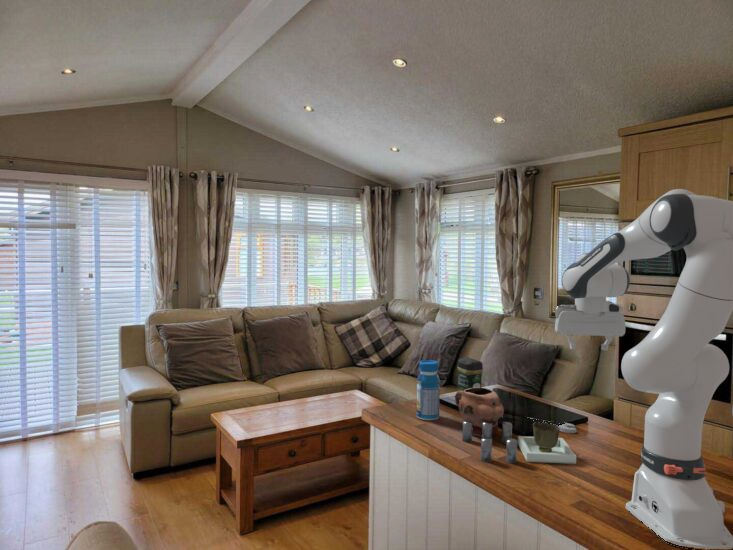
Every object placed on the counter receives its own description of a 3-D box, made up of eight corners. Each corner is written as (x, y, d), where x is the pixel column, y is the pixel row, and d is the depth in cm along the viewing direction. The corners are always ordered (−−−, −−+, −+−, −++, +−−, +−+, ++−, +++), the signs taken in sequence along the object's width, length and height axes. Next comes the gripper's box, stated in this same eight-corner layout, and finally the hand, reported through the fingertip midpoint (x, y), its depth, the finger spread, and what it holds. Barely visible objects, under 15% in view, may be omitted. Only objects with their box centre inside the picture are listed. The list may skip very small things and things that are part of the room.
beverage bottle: (429, 422, 173) (430, 365, 172) (411, 416, 179) (411, 361, 178) (444, 417, 179) (445, 362, 178) (426, 411, 185) (427, 358, 184)
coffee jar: (453, 404, 195) (454, 356, 194) (469, 401, 198) (470, 355, 197) (468, 411, 186) (469, 361, 185) (485, 408, 190) (486, 360, 189)
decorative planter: (441, 427, 169) (442, 386, 168) (464, 419, 177) (465, 380, 176) (491, 444, 154) (492, 400, 153) (514, 435, 162) (515, 393, 161)
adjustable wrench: (501, 419, 180) (501, 414, 179) (508, 414, 184) (508, 409, 184) (573, 435, 164) (573, 430, 164) (579, 430, 169) (579, 424, 169)
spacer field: (521, 463, 140) (522, 442, 140) (467, 460, 142) (467, 440, 141) (510, 441, 157) (511, 422, 157) (462, 438, 159) (462, 420, 158)
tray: (576, 464, 140) (576, 455, 140) (526, 461, 142) (527, 453, 142) (562, 445, 154) (562, 438, 153) (517, 443, 155) (517, 435, 155)
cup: (560, 458, 143) (561, 430, 143) (533, 455, 145) (534, 428, 144) (556, 448, 150) (557, 422, 150) (531, 446, 152) (531, 420, 152)
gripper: (558, 305, 153) (556, 350, 154) (628, 307, 151) (626, 352, 151) (552, 303, 159) (551, 346, 160) (620, 304, 157) (618, 348, 158)
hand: (588, 349), depth 156 cm, fingers open, 8 cm apart
